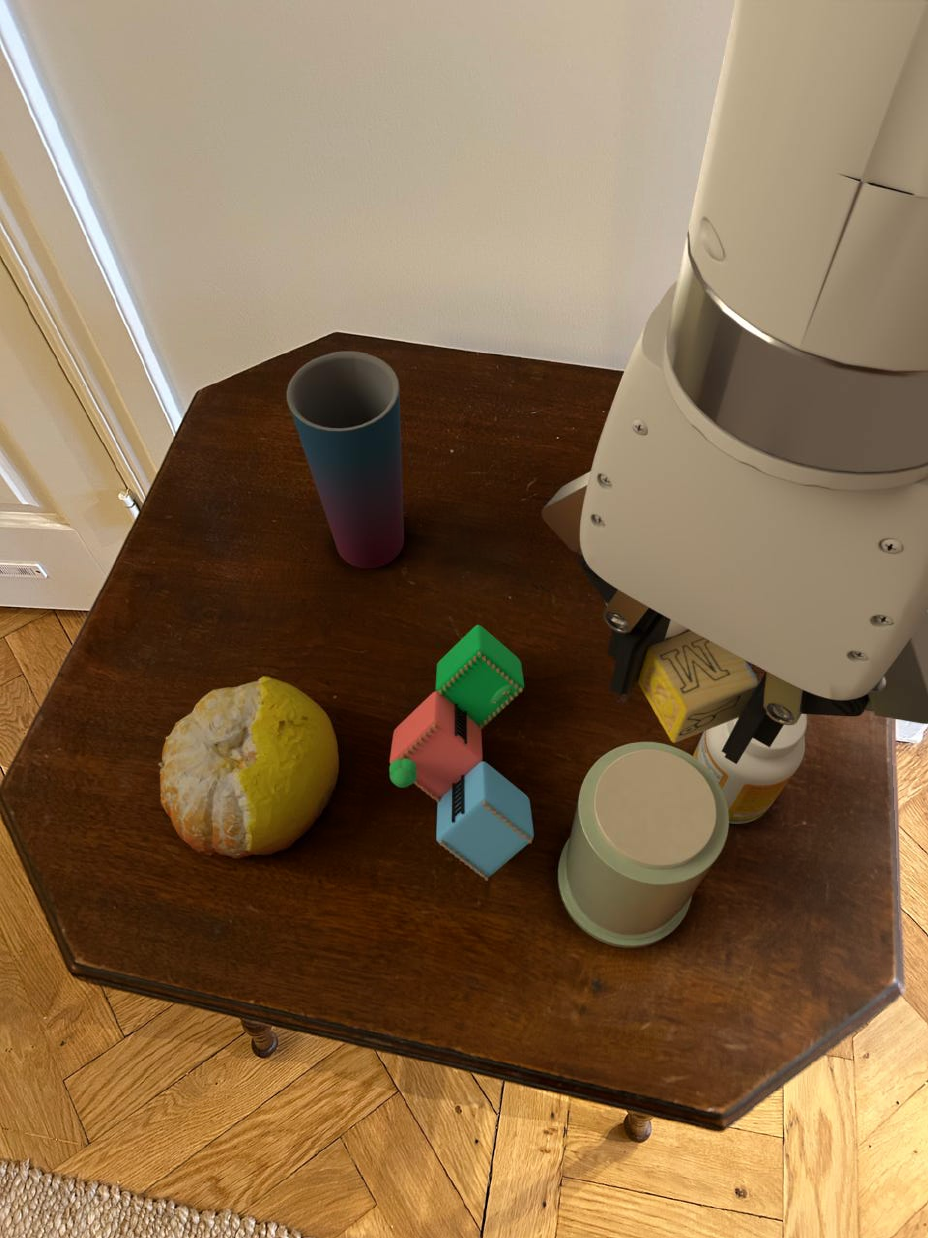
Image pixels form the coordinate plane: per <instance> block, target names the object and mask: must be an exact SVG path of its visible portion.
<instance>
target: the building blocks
mask: <svg viewBox="0 0 928 1238" xmlns="http://www.w3.org/2000/svg"><path fill="white" fill-rule="evenodd" d="M522 666H523V665H522V662H521V660H520V659H519V657H518V656H516V655H515V653H513V652H512V651H511V650H510V649H508V648H507V647H506V646H505V645H504V644H503V643H502V642H501V641H500V640H498V639H497V638H496V637H495V636H494V635H492V634H491V633H490V632H489V631H488V630H487V629H486V628H485V627H483V626H482V625H480V624H476V625H475V626H474V627H472V628H471V630H469V631H468V632H467V633H466V634H465V635H464V636H463V638H461V639H460V640H459V641H458V642H457V643H456V644H455V645H453V647H452V648H451V649H450V650H449V651H448V652H447V653H446V654H445V655H444V656H443V657H442V658H441V659H440V660H439V661H438V662H437V663H436V674H435V691H433V692H431V694H430V695H429V696H428V697H426V699H424V700H423V701H422V702H421V703H420V704H419V705H417V707H416V708H415V709H414V710H413V711H412V712H411V713H410V714H409V715H408V716H407V717H406V718H405V719H404V720H403V721H402V722H401V723H400V724H399V725H397V726H396V728H395V729H394V730H393V734H392V741H391V749H390V754H389V755H390V756H389V764H390V765H389V767H388V768H389V769H388V770H389V779H390V781H391V783H393V785H395V786H396V787H398V788H402V789H403V788H407V787H410V786H411V785H413V784H414V785H415V786H416V787H417V788H419V789H421V791H422V792H425V793H426V795H427V796H429V797H431V799H433V800H435V801H436V803H437V807H436V809H437V811H436V833H435V834H436V835H435V836H436V837H435V839H436V841H437V843H438V844H439V846H440V847H443V848H444V850H446V851H448V852H449V854H450V855H454V857H455V858H457V859H459V861H460V862H463V863H464V866H468V867H469V869H470V870H473V871H474V873H475V874H477V875H479V877H480V878H484V881H486V882H487V881H489V878H490V877H491V876H492V875H494V874H495V873H496V872H498V871H499V870H500V868H502V867H503V866H504V865H505V864H506V863H508V862H509V861H510V860H511V859H512V858H513V857H515V856H516V855H517V854H518V853H519V852H520V851H522V850H523V849H524V848H525V847H526V846H527V845H529V844H532V843H533V842H532V841H533V840H534V836H535V834H534V826H533V825H534V823H533V818H532V809H531V802H530V799H529V797H528V795H526V793H524V792H523V791H521V789H519V788H518V787H517V786H515V785H514V784H513V783H512V782H511V781H509V780H508V779H507V778H506V777H504V775H503V774H501V773H500V772H499V771H498V770H496V769H495V768H494V767H493V766H491V765H490V764H489V763H488V762H486V761H483V738H482V737H483V736H482V730H483V729H484V727H485V726H487V725H488V723H490V722H491V721H492V720H493V719H494V718H496V717H497V715H498V714H500V713H501V712H502V710H504V709H505V708H506V707H507V706H508V705H510V703H511V702H512V701H514V699H515V698H517V697H518V696H519V695H520V694H521V693H522V692H523V691H524V689H525V681H524V674H523V667H522Z"/></svg>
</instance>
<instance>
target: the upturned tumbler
mask: <svg viewBox="0 0 928 1238" xmlns="http://www.w3.org/2000/svg"><path fill="white" fill-rule="evenodd" d="M729 827H730V823H729V813H728V806H727V803H726V799H725V796H724V794H723V791H722V789H721V787H720V785H719V784H718V782H717V780H716V779H715V777H714V776H713V775H712V773H711V772H710V771H709V770H708V769H707V768H706V767H705V766H704V765H703V764H702V763H701V762H700V761H698V760H697V759H696V758H694V757H693V755H692V754H690V753H688V752H686V751H685V750H683V749H680V748H678V747H675V746H672V745H669V744H666V743H661V742H655V741H640V742H632V743H627V744H624V745H621V746H618V747H616V748H614V749H611V750H610V751H608V752H606V753H605V754H603V755H602V756H601V757H600V758H598V760H597V761H595V763H594V764H593V765H592V766H591V767H590V769H589V770H588V772H587V773H586V775H585V777H584V779H583V782H582V783H581V787H580V791H579V794H578V800H577V804H576V808H575V813H574V815H573V821H572V825H571V830H570V835H569V838H568V839H567V841H566V842H565V844H564V845H563V848H562V850H561V853H560V857H559V860H558V864H557V865H558V866H557V887H558V891H559V896H560V899H561V901H562V904H563V906H564V908H565V910H566V911H567V913H568V915H569V916H570V918H571V919H572V920H573V922H574V923H575V924H576V925H577V926H578V927H579V928H580V929H581V930H582V931H583V932H585V933H586V934H588V936H590V937H592V938H594V939H595V940H596V941H599V942H601V943H603V944H606V945H609V946H613V947H617V948H622V949H623V948H624V949H637V948H644V947H648V946H650V945H653V944H656V943H658V942H661V941H662V940H664V939H665V938H667V937H668V936H669V935H671V934H672V933H673V932H674V931H675V930H676V928H678V927H679V925H680V924H681V923H682V921H683V919H684V918H685V917H686V915H687V912H688V910H689V908H690V905H691V902H692V897H693V895H694V893H695V892H696V890H697V888H698V887H699V885H700V884H701V882H702V881H703V880H704V878H705V877H706V875H707V873H708V872H709V871H710V869H711V868H712V866H713V865H714V863H715V862H716V860H717V859H718V857H719V856H720V854H721V853H722V851H723V849H724V847H725V844H726V841H727V838H728V835H729Z"/></svg>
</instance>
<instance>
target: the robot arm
mask: <svg viewBox="0 0 928 1238" xmlns="http://www.w3.org/2000/svg"><path fill="white" fill-rule="evenodd" d="M732 10H733V11H732V16H731V20H730V25H729V29H728V34H727V39H726V45H725V50H724V55H723V60H722V64H721V69H720V74H719V79H718V82H717V83H718V84H717V88H716V93H715V98H714V103H713V107H712V112H711V117H710V122H709V127H708V132H707V137H706V142H705V147H704V151H703V156H702V161H701V167H700V171H699V176H698V179H697V180H698V181H697V185H696V189H695V195H694V199H693V204H692V209H691V214H690V218H689V219H690V220H689V225H688V229H687V233H686V239H685V243H684V248H683V253H682V256H681V257H682V258H681V262H680V267H679V273H678V276H677V280H676V281H675V282H674V283H673V284H671V286H670V287H668V289H667V290H666V292H665V294H663V296H662V298H661V300H660V302H659V303H658V304H657V306H655V308H654V310H653V311H652V312H651V314H650V315H649V317H648V319H647V321H646V323H645V325H644V327H643V329H642V331H641V333H640V336H639V337H638V338H637V341H636V343H635V346H634V348H633V350H632V353H631V355H630V357H629V359H628V362H627V364H626V365H625V366H626V367H625V369H624V371H623V374H622V376H621V379H620V382H619V384H618V387H617V389H616V392H615V395H614V397H613V400H612V402H611V406H610V409H609V411H608V414H607V417H606V419H605V422H604V426H603V428H602V432H601V434H600V437H599V440H598V444H597V446H596V451H595V453H594V457H593V461H592V466H591V468H590V471H588V472H586V473H585V474H583V475H581V476H579V477H577V478H575V479H573V480H572V481H569V482H568V483H566V484H564V485H562V486H561V487H560V488H559V490H558V491H557V492H556V493H555V494H554V495H553V497H551V499H549V501H548V502H547V503H546V505H545V506H544V507H543V508H542V509H541V511H540V515H541V517H542V520H543V521H544V522H545V524H546V525H547V526H548V527H549V528H550V529H551V530H552V531H553V532H554V534H556V536H557V537H558V538H559V539H560V540H561V541H562V542H563V543H564V545H566V547H567V548H568V549H569V550H570V551H571V552H572V553H574V552H576V553H577V554H578V555H579V557H578V560H577V561H578V565H579V568H580V569H581V570H582V572H583V573H584V575H585V576H586V577H587V579H588V580H589V581H590V583H591V584H592V585H593V587H594V588H595V589H596V591H597V592H598V594H599V595H600V596H601V597H602V599H603V600H604V602H605V604H606V603H607V604H608V605H606V606H605V608H604V610H603V611H602V613H601V616H602V620H603V621H604V623H605V624H606V625H607V626H608V627H609V628H610V629H611V634H610V639H609V644H608V647H607V648H608V649H607V655H608V656H610V657H611V658H613V659H615V664H614V668H613V671H612V676H611V680H610V685H609V690H610V691H612V692H613V693H615V694H616V695H619V697H622V696H623V695H625V696H628V695H629V694H630V693H631V692H632V690H633V689H634V687H635V686H636V684H637V683H638V679H639V676H640V672H641V669H642V666H643V662H644V659H645V656H646V652H647V649H648V648H649V647H650V646H652V645H655V644H657V643H660V642H663V641H666V639H665V636H666V633H667V630H668V627H669V624H670V621H671V620H673V621H675V622H676V623H678V624H680V625H682V626H684V627H686V628H687V629H688V630H689V631H693V632H695V633H696V634H698V635H700V636H702V637H704V638H706V639H707V640H709V641H711V642H713V643H715V644H717V645H718V646H720V647H722V648H724V649H726V650H728V651H730V652H731V653H733V654H735V655H737V656H739V657H741V658H742V659H744V660H746V661H747V663H750V664H751V665H754V666H756V667H758V668H759V669H761V670H763V671H765V673H764V675H763V676H762V678H761V679H760V680H759V685H758V686H757V688H756V689H755V691H754V693H753V694H752V696H751V697H750V699H749V701H748V702H747V704H746V706H745V707H744V709H743V711H742V713H741V714H740V716H739V718H738V720H737V722H736V724H735V726H734V728H733V730H732V732H731V734H730V736H729V738H728V740H727V741H726V743H725V745H724V747H723V749H722V752H723V753H725V754H726V755H725V758H727V759H728V760H730V761H732V762H733V763H735V764H737V763H738V761H739V760H740V758H741V756H742V755H743V753H744V751H745V750H746V748H747V746H748V745H749V743H750V741H751V740H752V738H754V739H756V740H757V741H759V742H761V743H763V744H764V745H766V746H768V747H769V748H770V746H771V745H772V743H773V742H774V740H775V738H776V737H777V735H778V734H779V732H780V730H781V729H782V727H783V725H794V724H796V723H797V721H798V719H799V718H800V716H801V714H806V715H814V716H815V715H817V716H831V717H850V718H851V717H853V718H854V717H855V718H856V717H860V716H862V714H863V713H864V712H865V711H868V712H873V714H874V716H876V717H880V718H881V717H882V718H887V719H894V720H897V721H898V720H899V721H905V722H911V723H916V724H921V725H928V0H734V6H733V9H732Z"/></svg>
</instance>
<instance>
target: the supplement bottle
mask: <svg viewBox="0 0 928 1238" xmlns="http://www.w3.org/2000/svg"><path fill="white" fill-rule="evenodd" d="M737 720H738V718H736V719H733V720H731V721H728V722H726V723H723V724H721V725H718V726H716V727H713V728H711V729H708V730H706V731H703V732H702V735H701V737H700V739H699V741H698V744H697V746H696V747H695V750H694V752H693V754H692V756H693V757H694V758H696V759H697V760H698V761H700V762H701V763H702V764H703V765H704V766H705V767H706V768H707V769H708V770H709V771H710V772H711V773H712V775H713V776H714V777H715V779H716V780H717V782H718V784H719V785H720V787H721V789H722V791H723V794H724V796H725V799H726V803H727V806H728V813H729V824H732V825H733V824H735V825H739V824H740V825H742V824H747V823H750V822H753V821H755V820H758V819H759V818H761V817H762V816H763V815H764V814H765V813H766V812H767V811H768V810H769V809H770V808H771V806H772V805H773V804H774V802H775V801H776V799H777V798H778V797H779V795H780V794H781V792H783V790H784V789H785V787H786V785H787V784H788V783H789V781H790V780H791V778H792V777H793V776H794V775H795V773H796V772H797V770H798V769H799V767H800V765H801V763H802V762H803V759H804V756H805V752H806V739H805V737H806V736H805V734H806V732H807V727H808V714H801V716H800V718H799V719H798V721H797V723H796V724H794V725H783V727H782V729H781V730H780V732H779V734H778V735H777V737H776V738H775V740H774V742H773V743H772V745H771V746H770V748H769V747H768V746H766V745H764V744H763V743H761V742H759V741H757V740H756V739H754V738H752V740H751V741H750V743H749V745H748V746H747V748H746V750H745V751H744V753H743V755H742V756H741V758H740V760H739V761H738V763H737V764H735V763H733V762H732V761H730V760H728V759H727V758H725V755H726V754H725V753H723V752H722V749H723V747H724V745H725V743H726V741H727V740H728V738H729V736H730V734H731V732H732V730H733V728H734V726H735V724H736V722H737Z"/></svg>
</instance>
